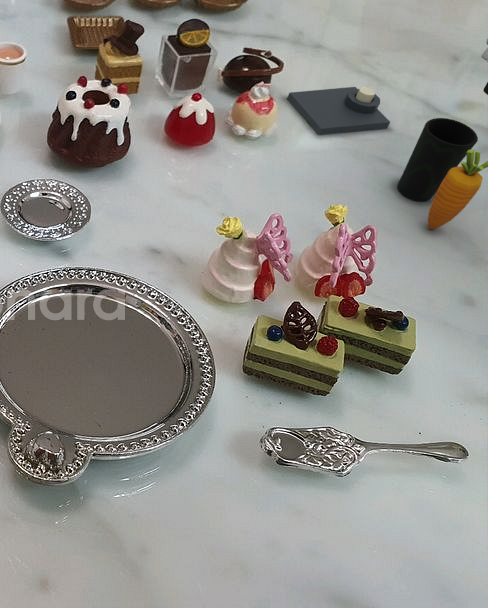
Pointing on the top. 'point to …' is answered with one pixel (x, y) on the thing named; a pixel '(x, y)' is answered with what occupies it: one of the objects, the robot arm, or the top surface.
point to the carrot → (456, 190)
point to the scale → (338, 110)
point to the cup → (435, 157)
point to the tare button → (365, 94)
